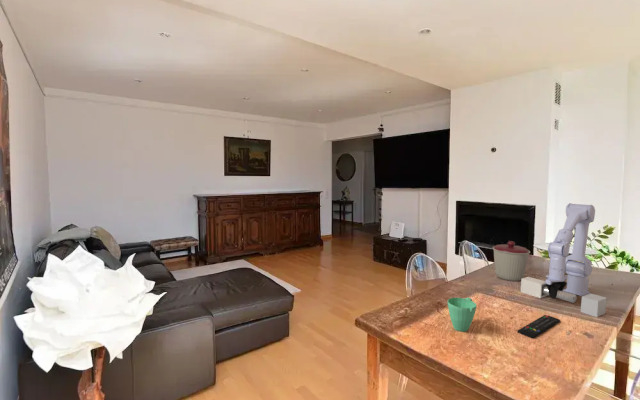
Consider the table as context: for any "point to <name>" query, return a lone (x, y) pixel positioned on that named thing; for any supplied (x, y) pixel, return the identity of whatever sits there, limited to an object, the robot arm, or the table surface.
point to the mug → (461, 313)
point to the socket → (593, 305)
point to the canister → (510, 261)
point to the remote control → (538, 326)
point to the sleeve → (532, 287)
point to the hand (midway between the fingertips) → (554, 297)
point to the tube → (561, 295)
